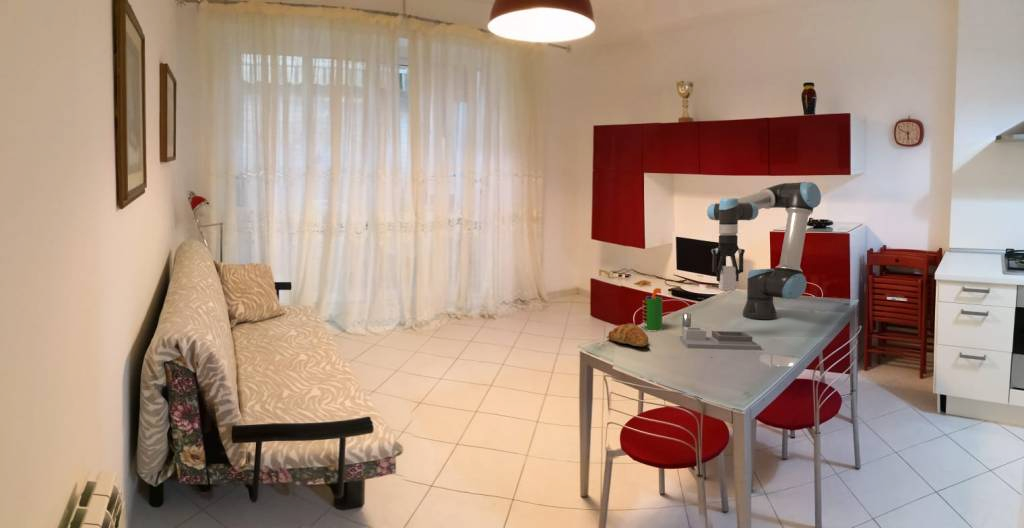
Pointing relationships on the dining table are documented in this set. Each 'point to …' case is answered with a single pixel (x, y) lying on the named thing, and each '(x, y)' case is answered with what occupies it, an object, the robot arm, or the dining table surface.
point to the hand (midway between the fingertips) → (727, 289)
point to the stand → (717, 339)
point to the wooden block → (728, 278)
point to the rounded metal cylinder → (686, 320)
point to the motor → (653, 311)
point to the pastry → (629, 335)
